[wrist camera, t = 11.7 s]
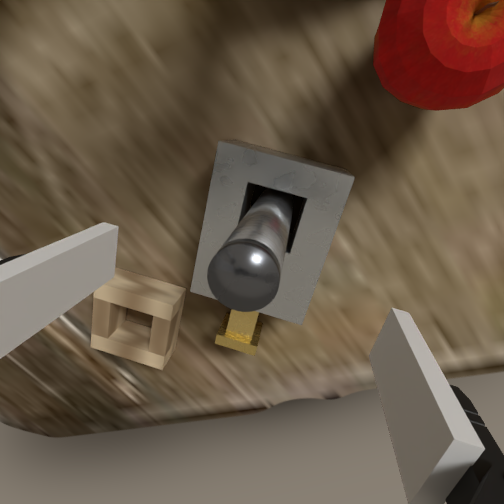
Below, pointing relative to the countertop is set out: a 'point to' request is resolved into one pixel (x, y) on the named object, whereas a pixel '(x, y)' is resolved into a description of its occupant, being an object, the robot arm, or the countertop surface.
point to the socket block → (299, 242)
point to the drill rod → (253, 255)
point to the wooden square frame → (132, 334)
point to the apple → (441, 51)
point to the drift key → (240, 331)
